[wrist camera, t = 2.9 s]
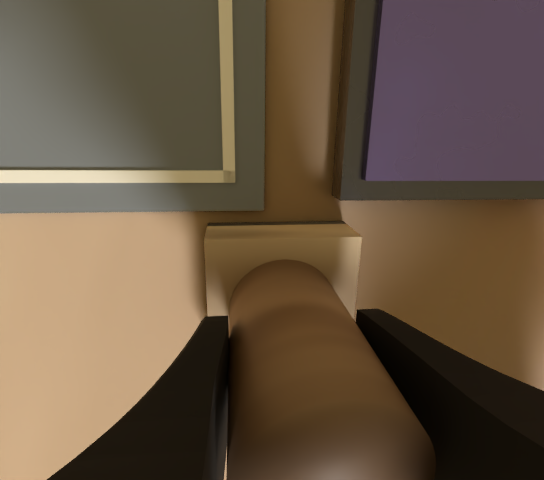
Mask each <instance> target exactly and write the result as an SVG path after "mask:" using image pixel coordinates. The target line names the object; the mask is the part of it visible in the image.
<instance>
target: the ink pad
mask: <svg viewBox="0 0 544 480" xmlns="http://www.w3.org/2000/svg"><path fill="white" fill-rule="evenodd" d="M332 196H334V197H336V198H337V199H339V200H471V199H544V0H345V12H344V26H343V41H342V55H341V70H340V84H339V99H338V113H337V128H336V142H335V157H334V172H333V186H332Z"/></svg>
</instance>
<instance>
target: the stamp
mask: <svg viewBox="0 0 544 480" xmlns="http://www.w3.org/2000/svg"><path fill="white" fill-rule="evenodd" d="M361 244H362V236H361V235H359V234H358V233H357V232H356V231H354V230H353V229H352V228H351V227H350V226H348V225H347V224H346V223H345V222H343V221H317V222H253V223H208V225H207V229H206V233H205V237H204V255H205V275H206V295H207V315H208V316H227V315H228V323H229V366H228V421H227V480H434V477H435V469H436V456H435V451H434V447H433V444H432V442H431V440H430V437H429V436H428V434H427V433H426V431H425V430H424V428H423V426H422V425H421V423H420V422H419V420H418V419H417V417H416V416H415V414H414V412H413V411H412V409H411V408H410V406H409V405H408V403H407V402H406V400H405V399H404V397H403V395H402V394H401V392H400V391H399V389H398V388H397V386H396V385H395V383H394V381H393V380H392V378H391V377H390V375H389V374H388V372H387V371H386V369H385V367H384V366H383V364H382V363H381V361H380V360H379V358H378V357H377V355H376V354H375V352H374V350H373V349H372V347H371V346H370V344H369V343H368V341H367V340H366V338H365V336H364V335H363V333H362V332H361V330H360V329H359V327H358V326H357V324H356V323H355V321H354V315H355V305H356V295H357V284H358V274H359V264H360V254H361Z"/></svg>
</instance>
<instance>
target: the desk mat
mask: <svg viewBox="0 0 544 480" xmlns="http://www.w3.org/2000/svg"><path fill="white" fill-rule="evenodd" d="M265 31H266V0H0V213H73V212H167V211H262V210H264V156H265Z"/></svg>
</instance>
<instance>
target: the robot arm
mask: <svg viewBox="0 0 544 480" xmlns="http://www.w3.org/2000/svg"><path fill="white" fill-rule="evenodd" d="M356 324H357V326H358V327H359V329H360V330H361V332H362V333H363V335H364V336H365V338H366V340H367V341H368V343H369V344H370V346H371V347H372V349H373V350H374V352H375V354H376V355H377V357H378V358H379V360H380V361H381V363H382V364H383V366H384V367H385V369H386V371H387V372H388V374H389V375H390V377H391V378H392V380H393V381H394V383H395V385H396V386H397V388H398V389H399V391H400V392H401V394H402V395H403V397H404V399H405V400H406V402H407V403H408V405H409V406H410V408H411V409H412V411H413V412H414V414H415V416H416V417H417V419H418V420H419V422H420V423H421V425H422V426H423V428H424V430H425V431H426V433H427V434H428V436H429V437H430V440H431V442H432V444H433V447H434V451H435V456H436V469H435V477H434V480H544V391H542V390H540V389H537V388H535V387H532V386H530V385H528V384H525V383H523V382H521V381H518V380H516V379H514V378H511V377H509V376H507V375H504V374H502V373H500V372H498V371H496V370H493V369H491V368H489V367H487V366H485V365H483V364H481V363H479V362H477V361H475V360H473V359H471V358H469V357H467V356H465V355H463V354H461V353H459V352H457V351H455V350H453V349H451V348H450V347H448V346H446V345H444V344H442V343H440V342H438V341H437V340H435V339H433V338H431V337H429V336H428V335H426V334H424V333H422V332H420V331H419V330H417V329H415V328H413V327H412V326H410V325H408V324H406V323H405V322H403V321H401V320H399V319H397V318H396V317H394V316H392V315H390V314H388V313H386V312H384V311H382V310H379V309H362V310H357V316H356ZM228 366H229V323H228V315H227V316H206V317H205V318H204V319H203V320H202V321H201V323H200V324H199V326H198V328H197V329H196V331H195V333H194V334H193V336H192V337H191V339H190V340H189V341H188V343H187V344H186V346H185V347H184V348H183V350H182V351H181V352H180V354H179V355H178V356H177V358H176V359H175V360H174V362H173V363H172V364H171V365H170V367H169V368H168V369H167V370H166V371H165V373H164V374H163V375H162V376H161V377H160V378H159V380H158V381H157V382H156V383H155V384H154V385H153V387H152V388H151V389H150V390H149V391H148V392H147V393H146V394H145V395H144V396H143V397H142V398H141V399H140V400H139V401H138V402H137V404H136V405H135V406H134V407H132V408H131V409H130V410H129V411H128V412H127V413H126V414H125V415H124V416H123V417H122V418H121V419H120V420H119V421H118V422H117V423H116V424H115V425H113V426H112V427H111V428H110V429H109V430H108V431H107V432H106V433H104V434H103V435H102V436H101V437H100V438H98V439H97V440H96V441H95V442H94V443H92V444H91V445H90V446H89V447H88V448H87V449H85V450H84V451H83V452H82V453H81V454H79V455H78V456H77V457H76V458H74V459H73V460H72V461H71V462H69V463H68V464H67V465H65V466H64V467H63V468H61V469H60V470H59V471H57V472H56V473H55V474H54V475H52V476H51V477H50V478H48V479H47V480H224V470H225V460H226V450H227V421H228Z"/></svg>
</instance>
